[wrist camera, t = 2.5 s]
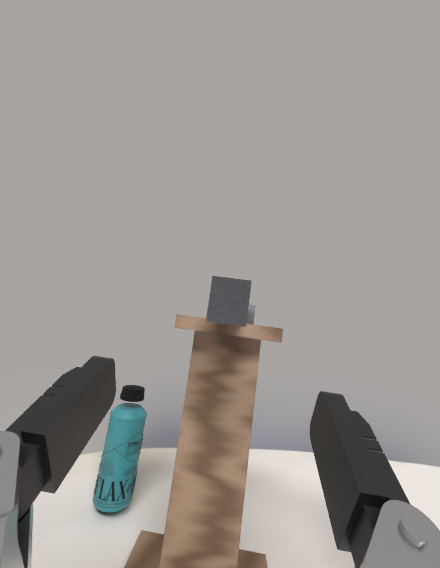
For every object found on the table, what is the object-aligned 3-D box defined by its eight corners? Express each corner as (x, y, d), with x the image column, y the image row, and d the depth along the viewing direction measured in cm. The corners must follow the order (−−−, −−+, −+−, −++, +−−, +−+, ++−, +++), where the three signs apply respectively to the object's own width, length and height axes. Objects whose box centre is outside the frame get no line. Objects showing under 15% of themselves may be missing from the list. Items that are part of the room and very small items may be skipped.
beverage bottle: (80, 516, 42) (106, 386, 46) (106, 493, 49) (127, 380, 52) (116, 529, 41) (140, 393, 44) (138, 504, 47) (158, 386, 51)
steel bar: (240, 321, 38) (243, 297, 38) (245, 326, 20) (251, 280, 20) (219, 318, 38) (223, 294, 38) (206, 321, 20) (212, 276, 20)
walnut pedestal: (263, 570, 37) (287, 316, 43) (286, 744, 22) (317, 307, 28) (139, 546, 38) (178, 302, 45) (74, 692, 23) (149, 285, 29)
